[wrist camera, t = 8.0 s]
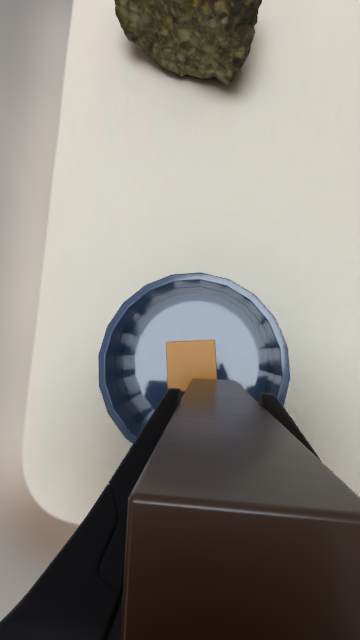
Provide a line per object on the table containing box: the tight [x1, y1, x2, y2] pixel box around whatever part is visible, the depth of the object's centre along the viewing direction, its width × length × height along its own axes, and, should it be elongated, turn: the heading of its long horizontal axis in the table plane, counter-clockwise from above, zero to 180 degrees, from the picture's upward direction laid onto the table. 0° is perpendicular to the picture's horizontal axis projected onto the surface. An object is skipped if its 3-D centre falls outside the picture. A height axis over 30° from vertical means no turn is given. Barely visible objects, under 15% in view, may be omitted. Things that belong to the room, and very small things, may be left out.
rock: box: [115, 0, 262, 84], centre depth 23 cm, size 12×9×8 cm
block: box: [166, 340, 217, 391], centre depth 21 cm, size 3×3×3 cm
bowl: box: [99, 273, 290, 444], centre depth 21 cm, size 13×13×4 cm
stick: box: [120, 378, 360, 640], centre depth 10 cm, size 3×3×14 cm
